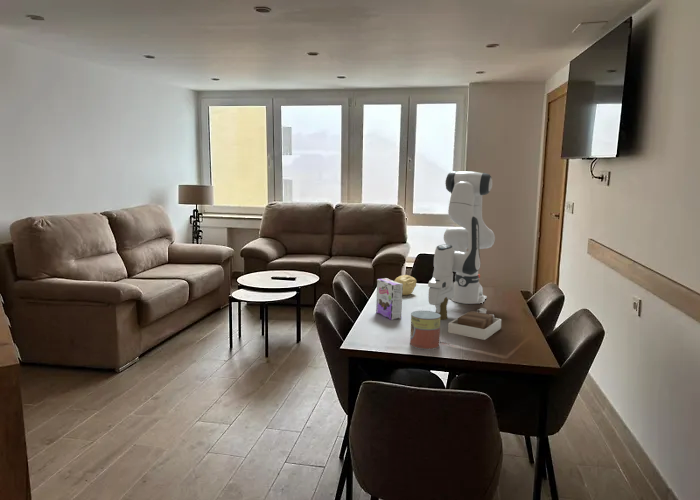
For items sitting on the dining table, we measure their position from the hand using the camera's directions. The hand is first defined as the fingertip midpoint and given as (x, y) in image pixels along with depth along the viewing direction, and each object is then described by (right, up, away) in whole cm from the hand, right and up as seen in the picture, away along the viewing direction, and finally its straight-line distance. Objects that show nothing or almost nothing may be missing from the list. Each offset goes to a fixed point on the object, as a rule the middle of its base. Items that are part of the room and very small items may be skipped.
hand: (441, 310), depth 227 cm
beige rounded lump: (-12, +3, +50) cm, 52 cm away
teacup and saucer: (+21, -5, +5) cm, 22 cm away
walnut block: (+11, -6, -17) cm, 21 cm away
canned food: (-13, -9, -33) cm, 37 cm away
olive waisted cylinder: (0, -4, +1) cm, 4 cm away
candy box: (-23, -3, +6) cm, 25 cm away
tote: (+11, -7, -17) cm, 21 cm away
